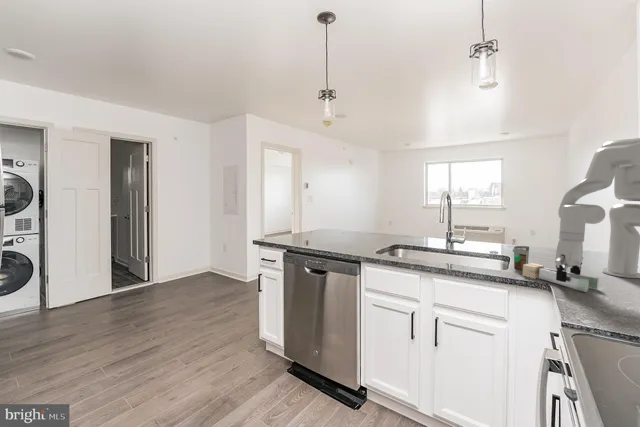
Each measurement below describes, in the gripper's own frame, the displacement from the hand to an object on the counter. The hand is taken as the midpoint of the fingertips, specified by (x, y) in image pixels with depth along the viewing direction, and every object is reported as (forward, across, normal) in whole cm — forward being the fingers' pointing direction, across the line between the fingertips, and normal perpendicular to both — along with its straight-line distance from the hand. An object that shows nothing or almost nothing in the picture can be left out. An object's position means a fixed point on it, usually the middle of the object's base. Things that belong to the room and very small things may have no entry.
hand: (567, 279), depth 120 cm
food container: (+2, -9, -24) cm, 26 cm away
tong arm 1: (+2, +3, -1) cm, 3 cm away
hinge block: (+2, 0, -13) cm, 13 cm away
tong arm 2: (+2, -3, -1) cm, 3 cm away
